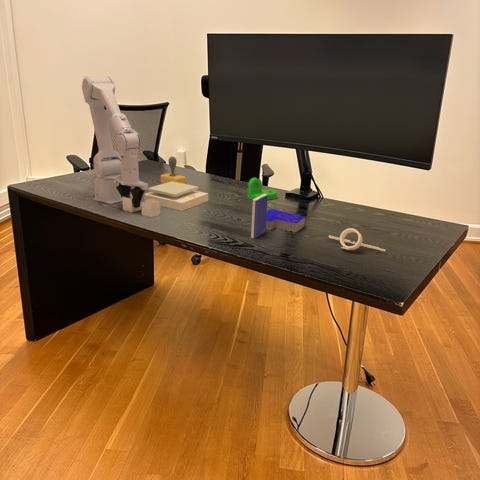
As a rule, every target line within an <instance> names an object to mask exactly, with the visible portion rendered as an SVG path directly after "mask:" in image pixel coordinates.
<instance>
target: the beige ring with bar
mask: <svg viewBox="0 0 480 480" xmlns="http://www.w3.org/2000/svg"><path fill="white" fill-rule="evenodd" d="M350 233H355V234H357V236H358V237H357V239H358V240H357V242H356V241H354V240H353V241H351V240H350V239H347V238H346V236H347V235H348V234H350ZM328 238H329V239H333V240H336V241H339V243H340V244H341V247H340V248H341V249H344V250H347V251H355V250H357V249H359V248H360V247H365V248H367V249H373V250H377V251H378V250H379V251H380V252H383V253H385V252H386V249H384V248H380V247H379V246H374V245H371V244H366V243H363V235H362V234H361V232H359V231H358V230H357V229H355V228H351V227H349V228H345V229H344V230H343V231H342V232H341V233H340V235H339V236H333V235H330V234H329V235H328ZM345 238H346V239H345ZM346 243H348V244H350V243H351V244H352V245H351V246H348V245H346Z"/></svg>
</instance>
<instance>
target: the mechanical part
mask: <svg viewBox="0 0 480 480" xmlns="http://www.w3.org/2000/svg"><path fill="white" fill-rule="evenodd" d="M263 194H268V199H267V201H269V200H273V199H277V197H278V191H277V190H274V189H271V188H270V189H265V190H263V183H262V180H261V179H260V178H257V177H252V178H250V179H249V181H248V184H247V195H246V196H247V198H248V199H251V200H252V201H253V199H255V198H257V197H259V196H261V195H263Z"/></svg>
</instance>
